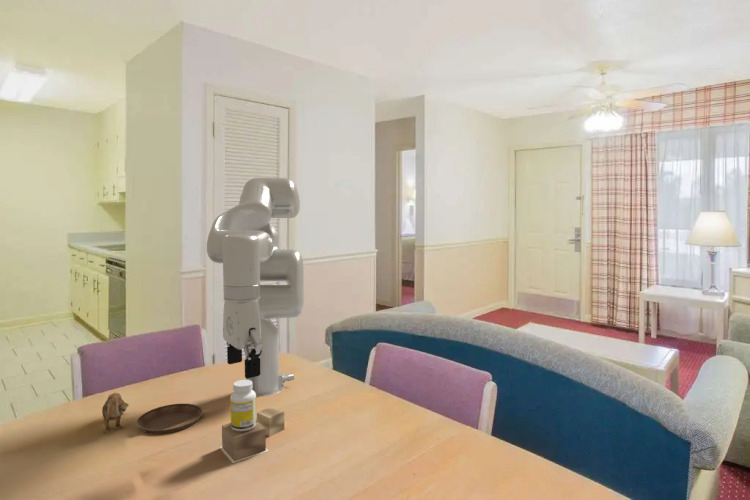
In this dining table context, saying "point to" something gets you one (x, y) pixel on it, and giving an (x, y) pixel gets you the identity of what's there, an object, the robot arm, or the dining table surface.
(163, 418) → the saucer
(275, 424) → the oak cube
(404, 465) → the dining table surface
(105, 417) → the lion figurine
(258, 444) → the walnut block
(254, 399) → the supplement bottle
